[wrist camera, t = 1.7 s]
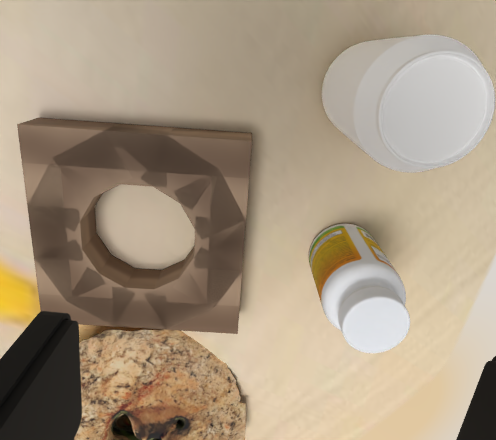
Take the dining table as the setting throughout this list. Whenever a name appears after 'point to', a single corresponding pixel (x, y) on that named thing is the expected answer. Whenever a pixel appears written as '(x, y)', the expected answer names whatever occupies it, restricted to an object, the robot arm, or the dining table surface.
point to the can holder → (146, 174)
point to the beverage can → (410, 100)
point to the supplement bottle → (359, 288)
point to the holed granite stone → (156, 389)
